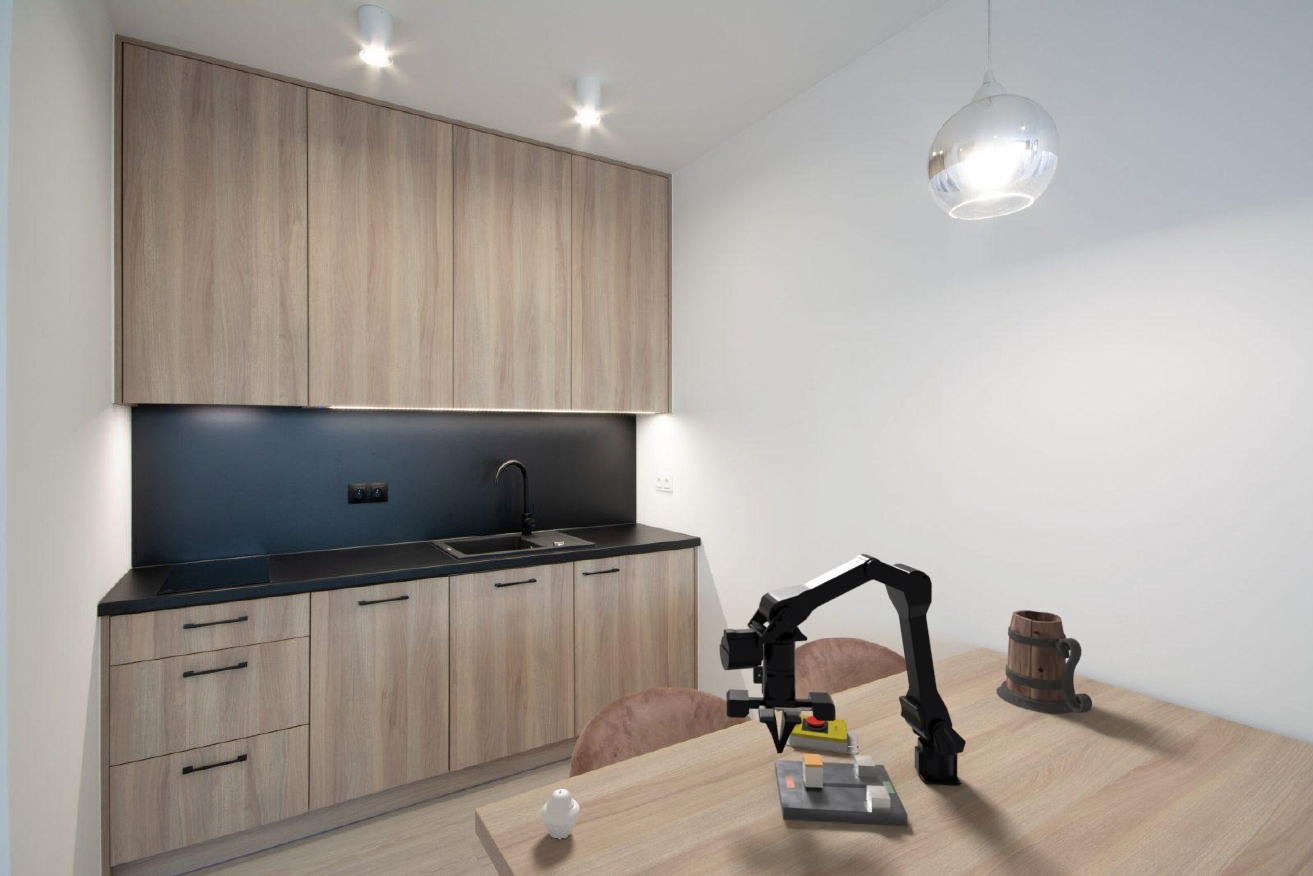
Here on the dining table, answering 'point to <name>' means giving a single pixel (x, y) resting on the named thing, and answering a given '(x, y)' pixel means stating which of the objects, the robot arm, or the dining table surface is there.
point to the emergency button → (823, 735)
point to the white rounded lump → (560, 814)
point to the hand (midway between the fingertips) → (779, 752)
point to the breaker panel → (840, 793)
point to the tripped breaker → (812, 770)
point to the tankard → (1042, 665)
